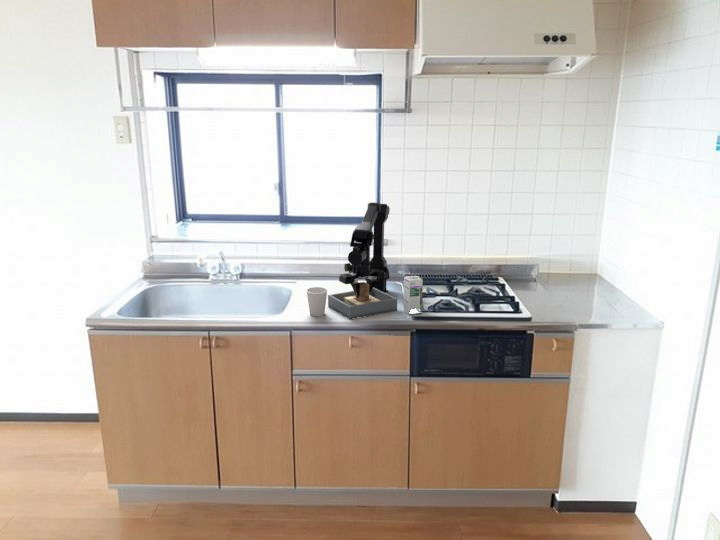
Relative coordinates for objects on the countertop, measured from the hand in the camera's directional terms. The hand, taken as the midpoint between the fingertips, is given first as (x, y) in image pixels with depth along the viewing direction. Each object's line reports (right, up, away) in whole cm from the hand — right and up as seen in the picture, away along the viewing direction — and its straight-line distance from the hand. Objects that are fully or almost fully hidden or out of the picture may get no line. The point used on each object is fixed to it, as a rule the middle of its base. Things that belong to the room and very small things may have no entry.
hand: (362, 296), depth 218 cm
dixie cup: (-18, -7, -6) cm, 20 cm away
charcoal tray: (0, -5, +1) cm, 5 cm away
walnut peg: (0, -3, +1) cm, 4 cm away
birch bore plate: (0, -5, +1) cm, 5 cm away
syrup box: (+20, -6, -3) cm, 21 cm away
